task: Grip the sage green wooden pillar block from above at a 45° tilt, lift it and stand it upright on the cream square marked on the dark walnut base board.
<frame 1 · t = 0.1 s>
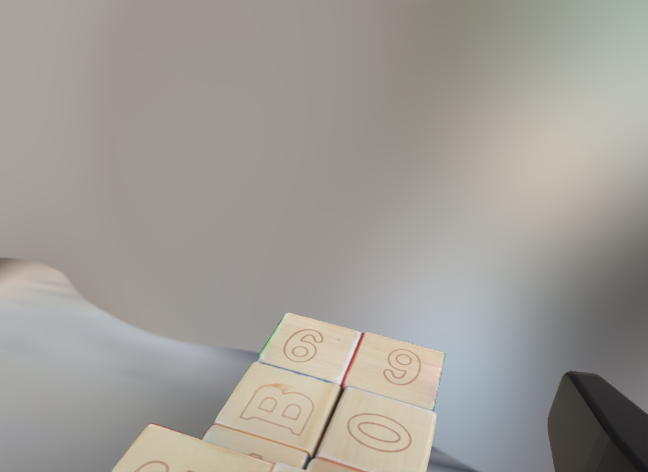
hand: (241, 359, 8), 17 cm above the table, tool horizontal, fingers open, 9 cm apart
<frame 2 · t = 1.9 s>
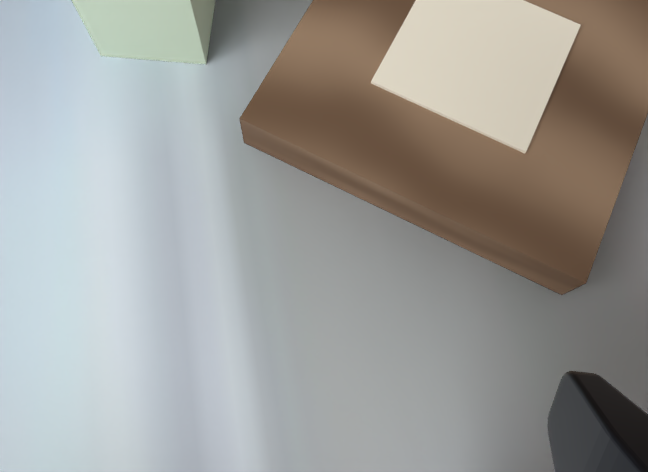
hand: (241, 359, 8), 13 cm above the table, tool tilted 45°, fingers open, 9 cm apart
base board: (464, 82, 26), on the table
pillar block: (161, 16, 26), on the table
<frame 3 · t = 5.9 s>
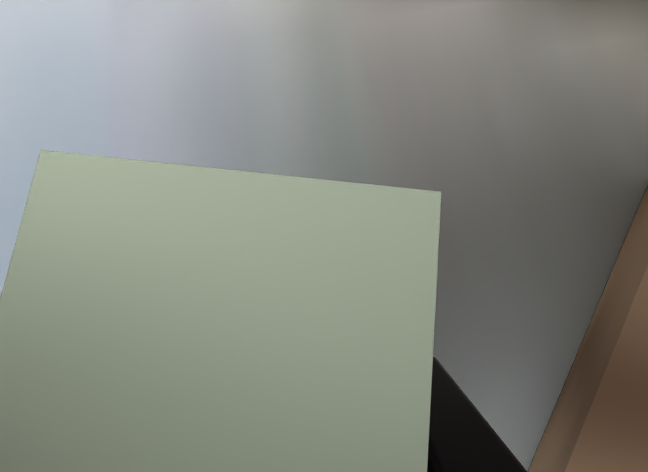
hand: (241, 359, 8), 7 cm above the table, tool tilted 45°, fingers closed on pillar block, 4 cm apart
pillar block: (271, 400, 14), on the table, touching gripper
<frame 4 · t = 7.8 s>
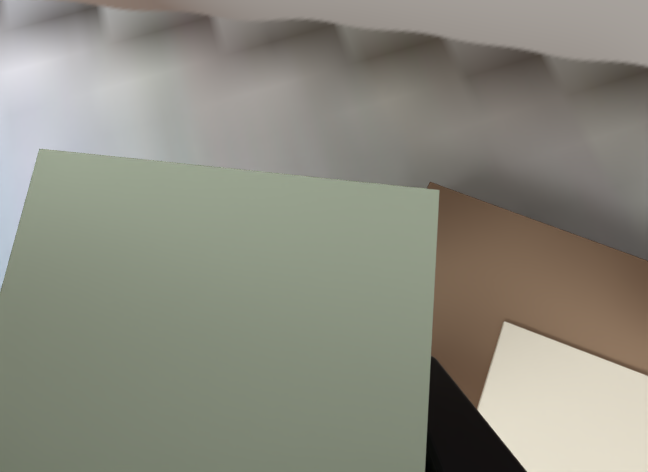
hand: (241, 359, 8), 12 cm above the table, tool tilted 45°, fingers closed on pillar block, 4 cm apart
base board: (550, 456, 20), on the table
pillar block: (270, 399, 14), point 6 cm above the table, touching gripper
when the fingers open (10 cm above the table, at t = 9.6 s): pillar block drops 1 cm, resting on base board.
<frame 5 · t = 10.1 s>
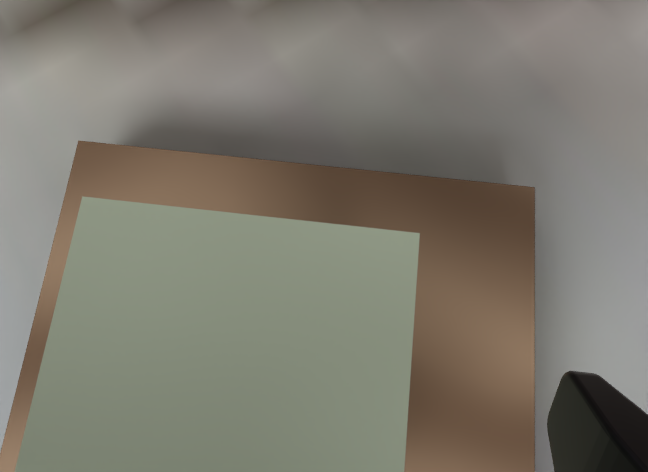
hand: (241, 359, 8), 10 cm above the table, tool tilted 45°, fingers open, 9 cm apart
base board: (279, 402, 18), on the table
pillar block: (273, 403, 16), point 2 cm above the table, touching base board
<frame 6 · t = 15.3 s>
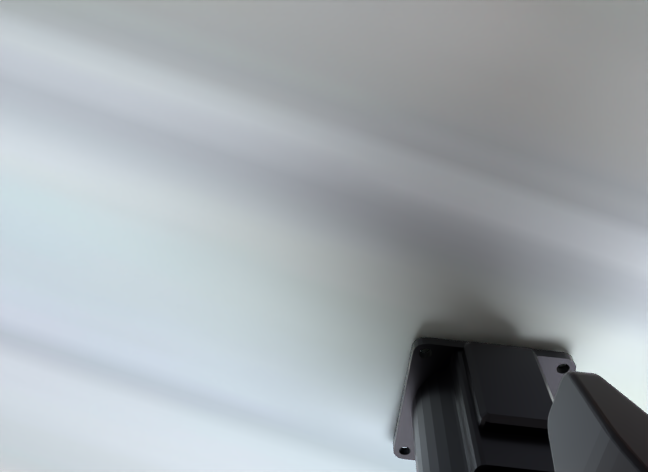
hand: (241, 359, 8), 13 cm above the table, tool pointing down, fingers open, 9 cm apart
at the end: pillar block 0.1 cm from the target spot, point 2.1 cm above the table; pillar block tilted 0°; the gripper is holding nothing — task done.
